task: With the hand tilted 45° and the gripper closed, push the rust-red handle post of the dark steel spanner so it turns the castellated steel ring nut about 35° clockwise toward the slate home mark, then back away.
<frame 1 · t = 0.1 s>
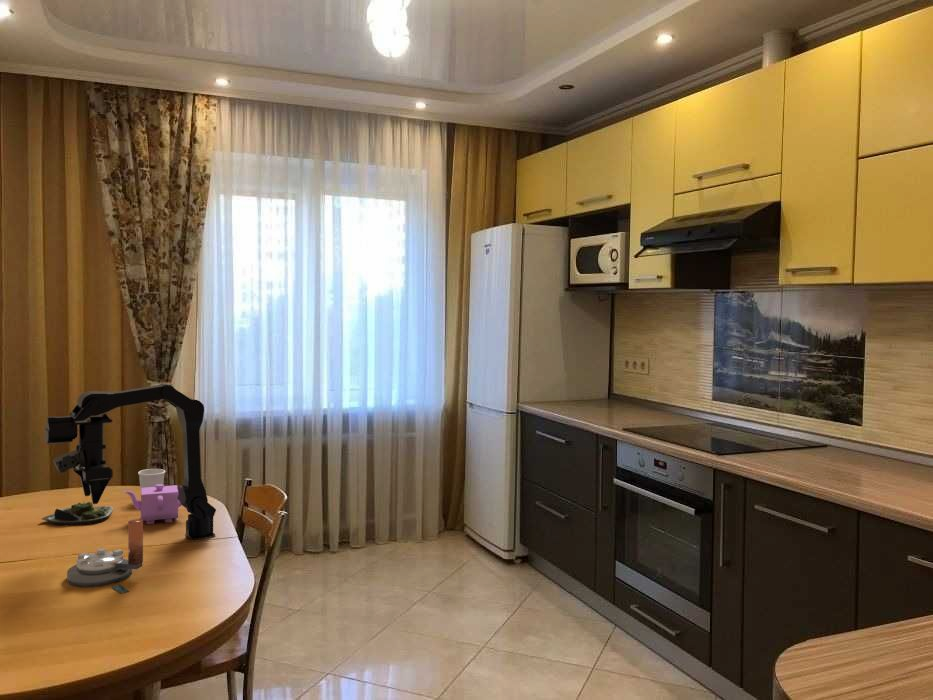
hand: (91, 499, 185), 15 cm above the table, fingers open, 9 cm apart
salad plate: (79, 519, 217), on the table
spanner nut: (111, 543, 171), point 8 cm above the table, hinge at 0.0°
teapot: (159, 520, 217), on the table
dixie cup: (151, 501, 237), on the table
flange base: (100, 576, 171), on the table
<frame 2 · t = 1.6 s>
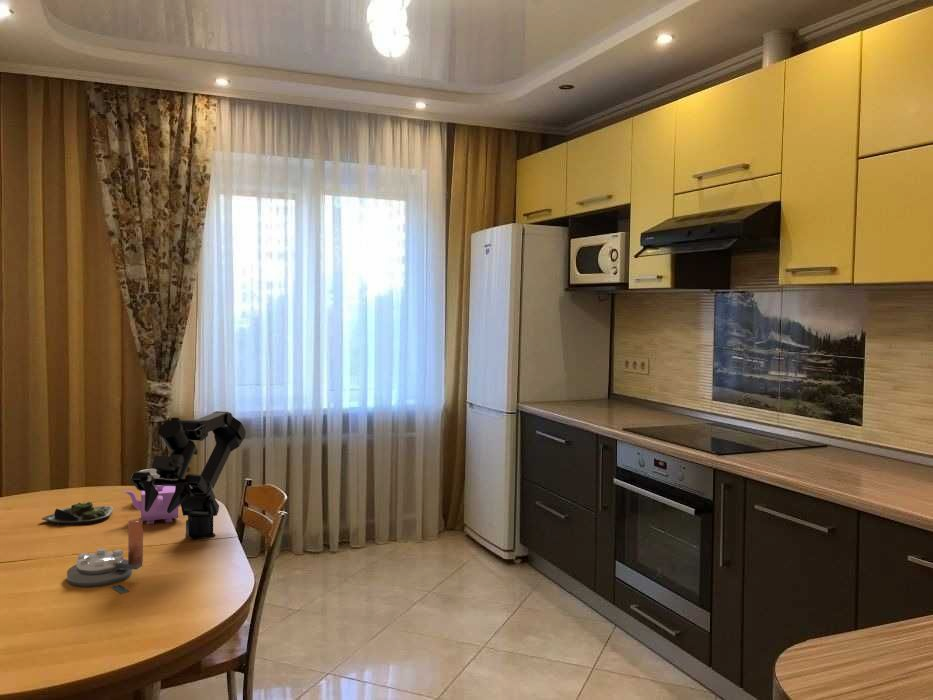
hand: (157, 511, 179), 14 cm above the table, fingers open, 6 cm apart
nothing on the table moved.
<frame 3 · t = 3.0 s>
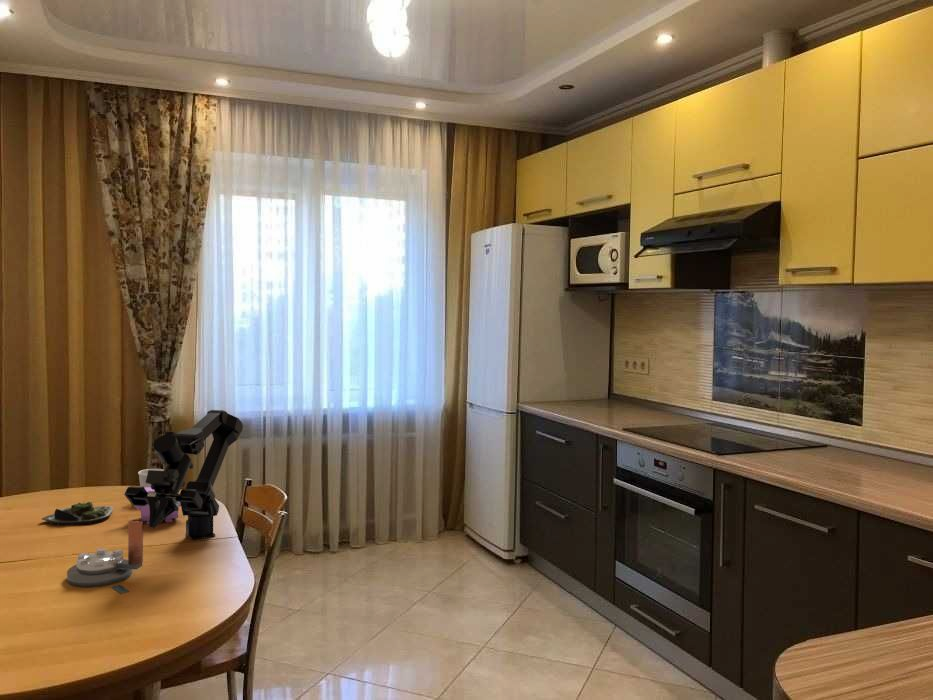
hand: (151, 527, 177), 10 cm above the table, fingers closed
nothing on the table moved.
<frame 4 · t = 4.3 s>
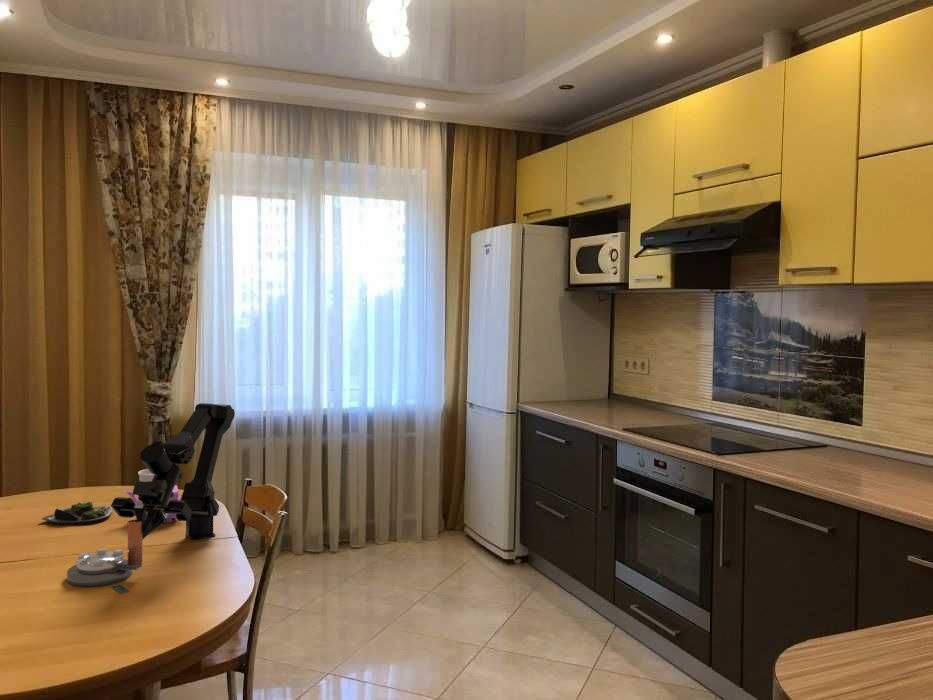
hand: (138, 540, 172), 9 cm above the table, fingers closed, pressing on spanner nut
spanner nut: (110, 543, 171), point 8 cm above the table, hinge at 1.6°, touching gripper
everything else where it was.
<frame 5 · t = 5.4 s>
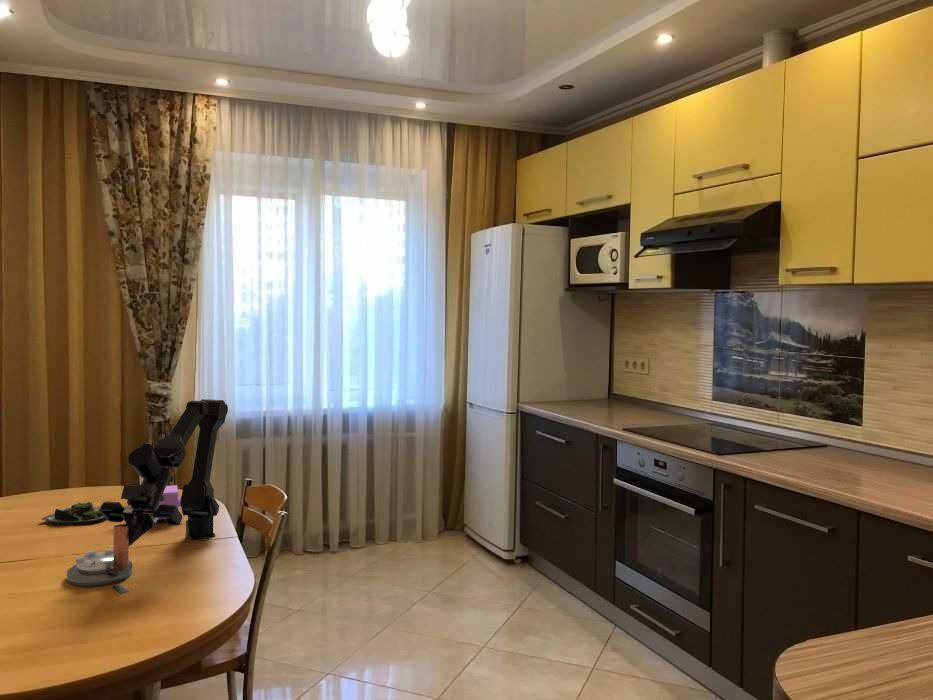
hand: (127, 545, 168), 9 cm above the table, fingers closed, pressing on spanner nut
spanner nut: (106, 545, 169), point 8 cm above the table, hinge at 28.3°, touching gripper
everything else where it was.
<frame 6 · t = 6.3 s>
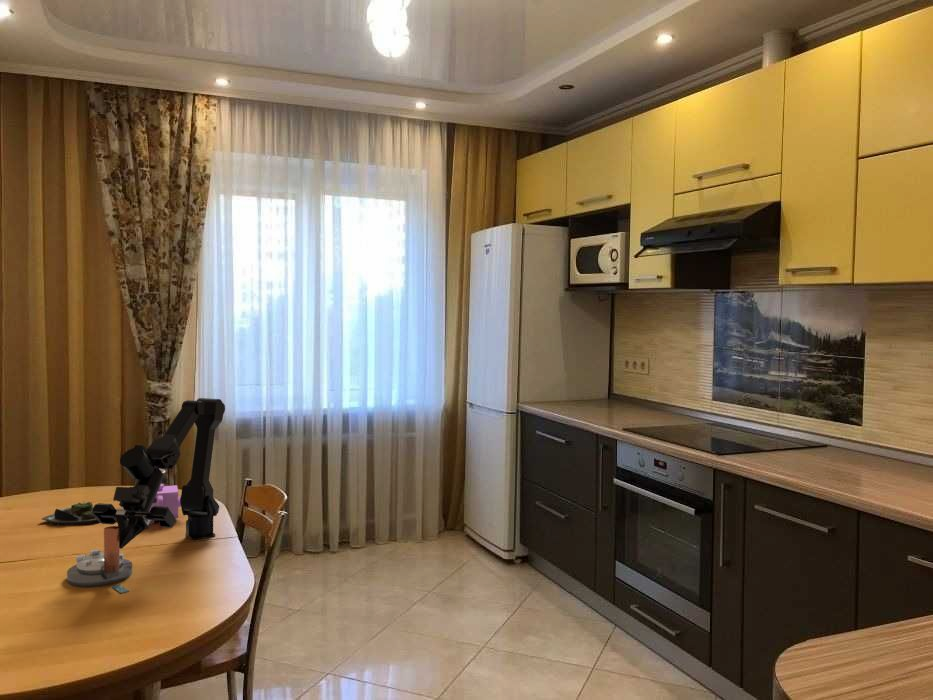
hand: (119, 547, 166), 9 cm above the table, fingers closed
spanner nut: (103, 545, 169), point 8 cm above the table, hinge at 41.7°, touching gripper
everything else where it was.
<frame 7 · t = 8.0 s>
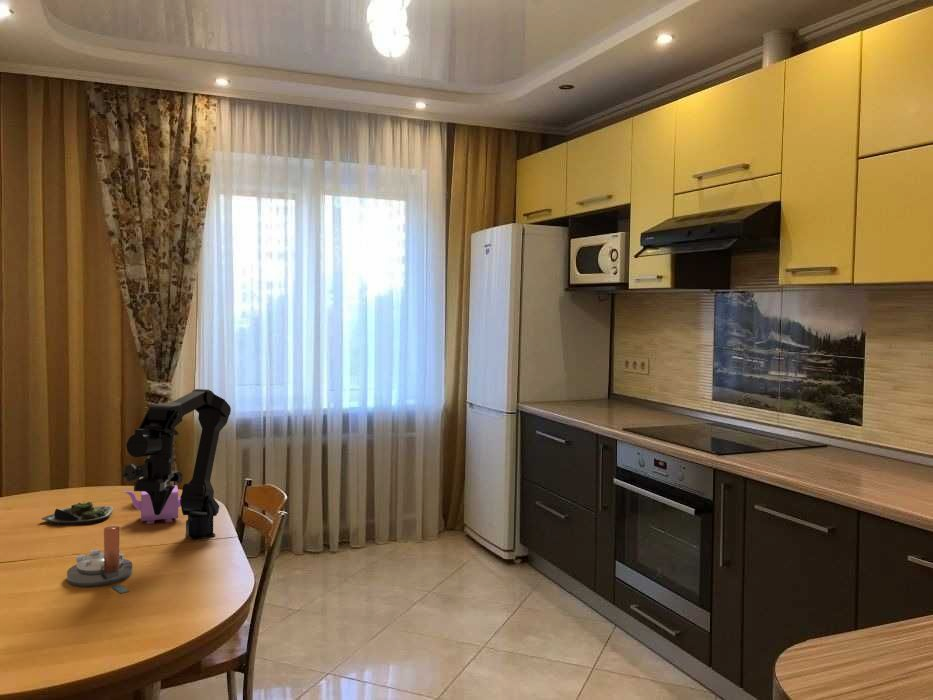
hand: (157, 514, 182), 12 cm above the table, fingers closed
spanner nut: (103, 545, 169), point 8 cm above the table, hinge at 41.7°
everything else where it was.
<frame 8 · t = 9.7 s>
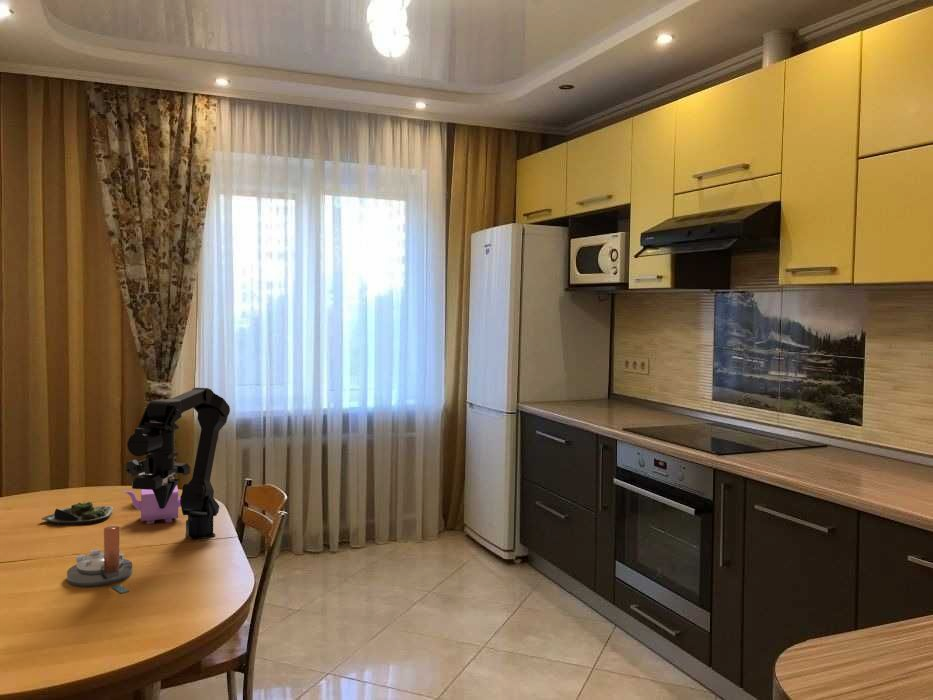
hand: (162, 508, 184), 13 cm above the table, fingers closed
nothing on the table moved.
at the end: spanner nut at +42° (first picture: +0°) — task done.
